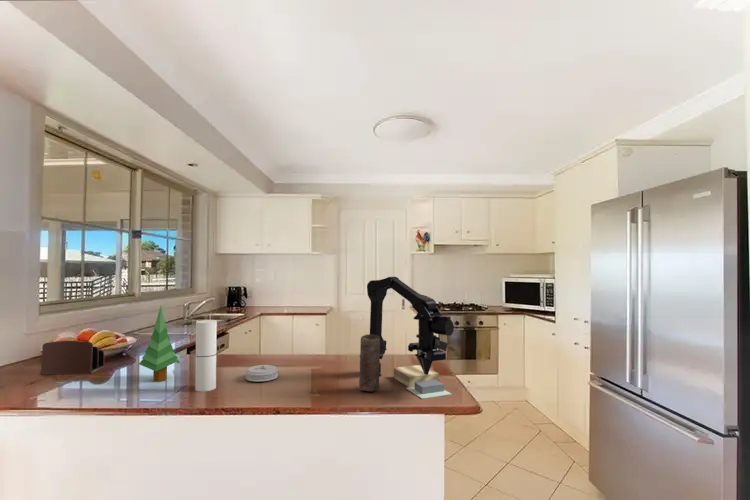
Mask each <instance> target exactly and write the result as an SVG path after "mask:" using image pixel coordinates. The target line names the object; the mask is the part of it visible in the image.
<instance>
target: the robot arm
mask: <svg viewBox="0 0 750 500" xmlns="http://www.w3.org/2000/svg"><path fill="white" fill-rule="evenodd" d="M390 289H392V290H394V291H395V292H396V293H397V294H399V296H401V297H402V298H404V299H405V300H407V301H408V302H409V303H410V305H411V307H412V309H413V310H414V311H416V313H417V314H416V315H415V316H414V317H413V320H416V321H418V334H415V335H416V336H415V337H416V338H418V341H417V342H410V343H408V345H407V346H408V347H407V351H409V352H410V353H412V352H413V351H416V353H415V355H414V356H415V357H416V359H417V361H418V363H419V365H421V367H422V369H423V372H424V374H425V375H428V373H429V370H430V369H431V367H432V363H433V362H437V361H444V360H445V361H446V360H447V353H446V352H447V349H448V346H449V342H445V341H442V340H441V338H440V337H439V336H437V335H441V336H448V337H449V336H452V334H453V333H454V330H455V326H454V322H453V321H452V319H451V315H450V316H449V315H446V316H444V315H443V314H442V313H441V311H440V309H439V308H438V306H437V302H436V300H435V299H434V298H431V297H430V296H427V295H424V294H421V293H419V292H417V291H416V290H414V289H413V288H412V287H410V286H409V285H408V284H406V283H404V281H402V280H400V279H399V278H398V277H397V276H388V277H385V278H383V279H376V280H375V279H373V280H369V281H368V283H367V284H366V291H367V297H368V299H369V301H370V319H369V334H370V335H371V334H373V335H378V336H379V337H380V356H379V377H381V376H382V370H381V369H382V364H381V360H383V357H384V355H385V354H386V351H387V340H384V338H383V335H382V331H383V329H382V328H383V304H384V303H383V302H384V300H385V298H386V296H387V292H388V290H390ZM435 334H436V335H435Z"/></svg>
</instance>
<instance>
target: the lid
mask: <svg viewBox="0 0 750 500" xmlns="http://www.w3.org/2000/svg"><path fill="white" fill-rule="evenodd" d="M278 372H279V368H277V366H275V365H271V364H260V365H259V364H258V365H253V366H250V367H248V369H246V370H245V374H246V375H245V380H247V381H250V382H267V381H268V382H269V381H272V380H276V379H277V378H278V377H279V374H278Z"/></svg>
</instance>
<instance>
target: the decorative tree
mask: <svg viewBox="0 0 750 500" xmlns="http://www.w3.org/2000/svg"><path fill="white" fill-rule="evenodd" d="M153 329H154V330H153V332H152V334H151V337H150V340H149V343H148V345H147V347H146V350H145V351H144V354H143V356H142V357H141V359H142V360H141V361H140V362H139V363H138V365H140V366H142V367H144V368H147V369H149V370H152V372H153V373H152V374H153V381H152V382H154V383H155V382H156V383H160V382H165V381H166V380H167V377H168V375H167V374H168V373H167V372H168V371H167V370H168V369H167V368H168V366H170V365H173V364H176V363H177V364H181V363H182V362H181V361H180V360H179V359H178V358H179V357H178V356H177V355H176V352H175V349H174V348H173V345H172V343H171V339H170V336H169V334H168V330H167V325H166V320H165V316H164V312H163V308H162V305H160V308H159V310H158V314H157V317H156V320H155V323H154V327H153Z"/></svg>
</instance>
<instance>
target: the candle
mask: <svg viewBox="0 0 750 500" xmlns="http://www.w3.org/2000/svg"><path fill="white" fill-rule="evenodd" d="M359 350H360V351H359V379H358V380H359V381H358V383H359V386H358V388H359V390H360V391H364V392H368V393H371V392H374V391H376V390H378V389H379V388H380V376H379V360H380V359H379V356H380V337H379V336H378V335H373V334H371V335H370V333H369V334H363V335H362V336H361V337H360V349H359Z"/></svg>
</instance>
